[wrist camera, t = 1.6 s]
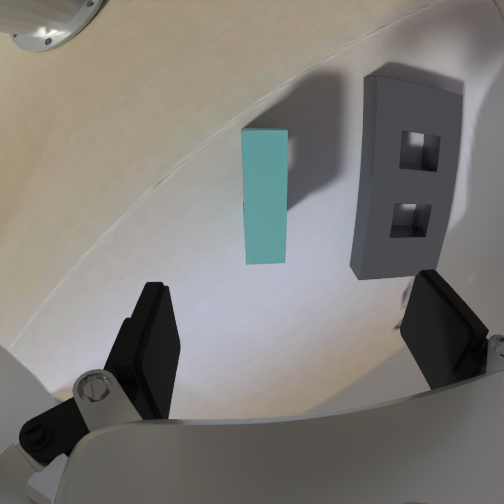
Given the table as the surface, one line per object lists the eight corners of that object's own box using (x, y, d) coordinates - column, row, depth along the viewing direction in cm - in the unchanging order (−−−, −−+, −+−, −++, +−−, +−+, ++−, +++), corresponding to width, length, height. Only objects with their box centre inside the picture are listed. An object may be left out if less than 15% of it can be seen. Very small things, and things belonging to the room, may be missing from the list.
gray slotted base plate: (363, 77, 24) (377, 75, 21) (445, 94, 24) (462, 95, 21) (349, 265, 33) (358, 280, 30) (422, 261, 33) (434, 274, 31)
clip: (240, 124, 26) (242, 130, 19) (274, 123, 26) (287, 130, 19) (243, 226, 30) (246, 264, 24) (274, 225, 30) (285, 262, 24)
